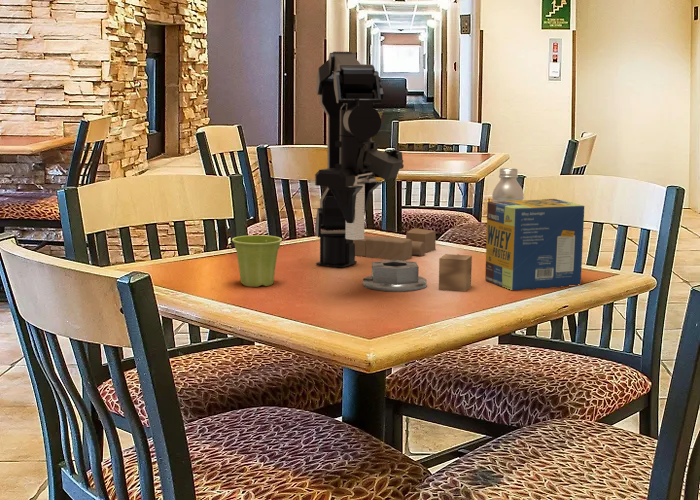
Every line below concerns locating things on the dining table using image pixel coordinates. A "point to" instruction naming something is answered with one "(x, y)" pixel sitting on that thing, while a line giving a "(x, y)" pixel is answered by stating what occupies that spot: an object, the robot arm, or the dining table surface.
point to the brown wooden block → (455, 272)
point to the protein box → (534, 243)
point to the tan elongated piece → (357, 217)
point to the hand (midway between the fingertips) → (355, 221)
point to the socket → (395, 276)
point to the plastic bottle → (508, 186)
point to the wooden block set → (397, 245)
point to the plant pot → (257, 258)
